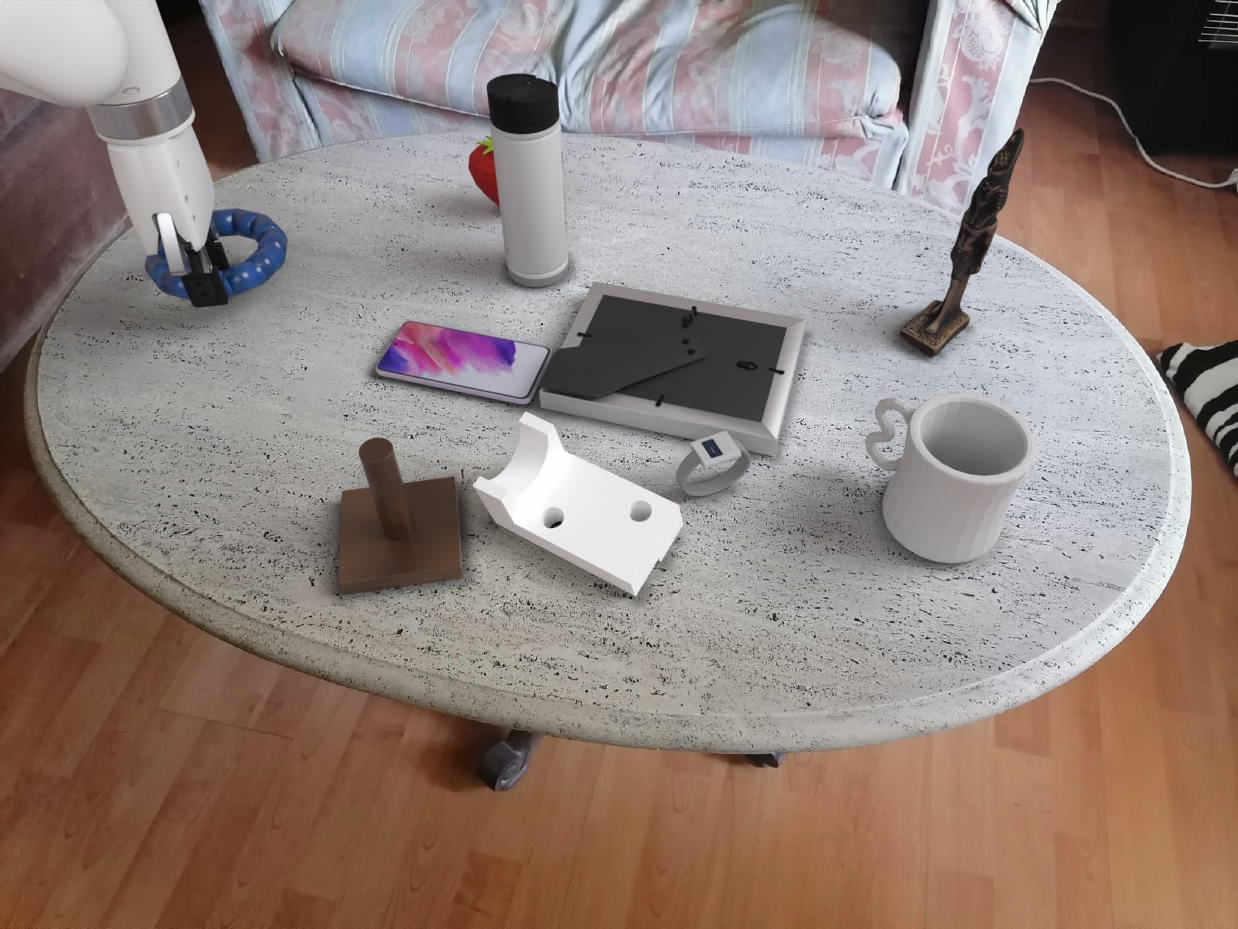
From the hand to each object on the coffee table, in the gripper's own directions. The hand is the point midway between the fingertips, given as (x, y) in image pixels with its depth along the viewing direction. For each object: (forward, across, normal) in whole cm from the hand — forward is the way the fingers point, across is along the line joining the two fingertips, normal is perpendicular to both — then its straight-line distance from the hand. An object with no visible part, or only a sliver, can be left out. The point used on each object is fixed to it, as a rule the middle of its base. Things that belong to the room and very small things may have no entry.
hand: (213, 290), depth 88 cm
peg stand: (+4, +28, +16) cm, 33 cm away
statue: (+4, +12, +66) cm, 68 cm away
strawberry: (+4, -14, +28) cm, 32 cm away
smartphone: (+4, +10, +22) cm, 25 cm away
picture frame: (+4, +14, +41) cm, 44 cm away
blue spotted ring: (-1, -5, 0) cm, 5 cm away
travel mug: (+4, -4, +30) cm, 31 cm away
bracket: (+5, +30, +30) cm, 43 cm away
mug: (+4, +32, +57) cm, 66 cm away
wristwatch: (+4, +28, +41) cm, 50 cm away
